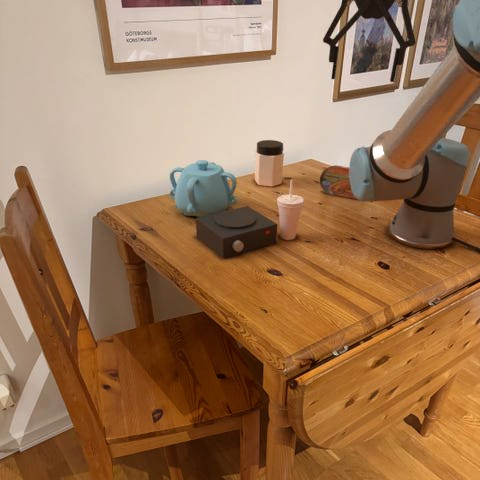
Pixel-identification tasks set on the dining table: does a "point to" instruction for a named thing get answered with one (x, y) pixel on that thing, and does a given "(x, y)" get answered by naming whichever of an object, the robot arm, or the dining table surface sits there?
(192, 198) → the decorative pot
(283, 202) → the smoothie
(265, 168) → the jar
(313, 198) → the dining table surface
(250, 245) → the hot plate
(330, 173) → the tin
